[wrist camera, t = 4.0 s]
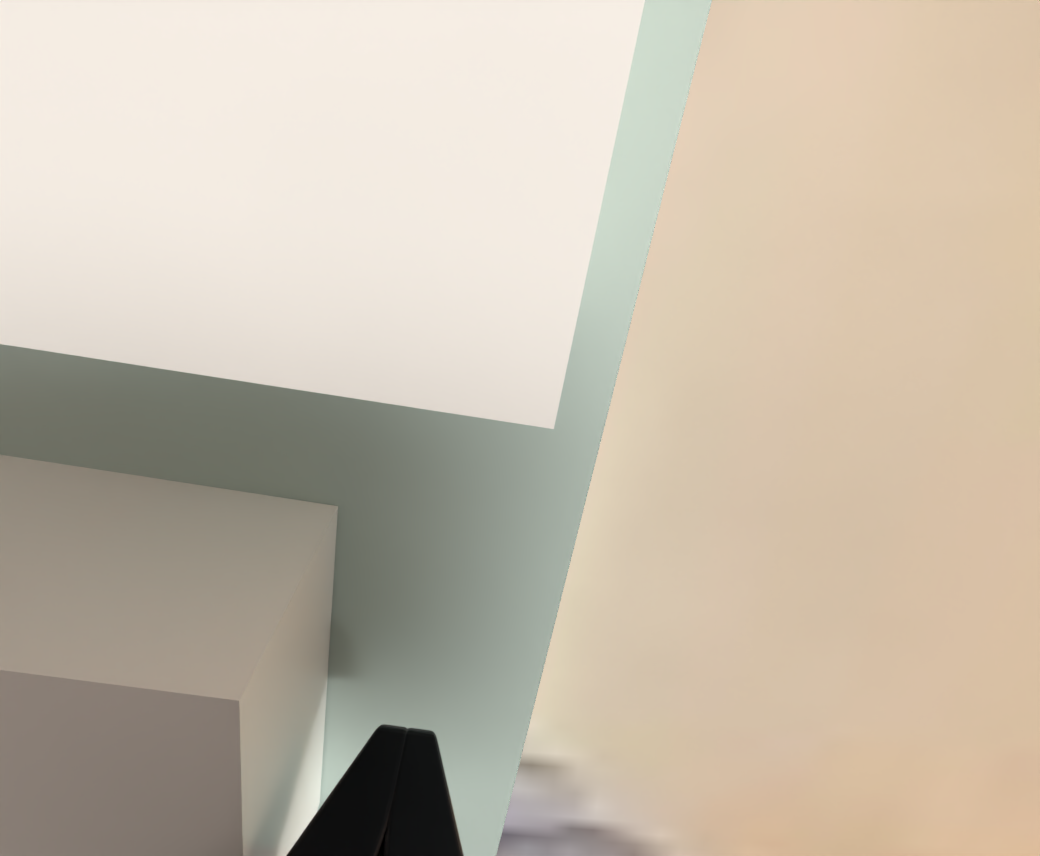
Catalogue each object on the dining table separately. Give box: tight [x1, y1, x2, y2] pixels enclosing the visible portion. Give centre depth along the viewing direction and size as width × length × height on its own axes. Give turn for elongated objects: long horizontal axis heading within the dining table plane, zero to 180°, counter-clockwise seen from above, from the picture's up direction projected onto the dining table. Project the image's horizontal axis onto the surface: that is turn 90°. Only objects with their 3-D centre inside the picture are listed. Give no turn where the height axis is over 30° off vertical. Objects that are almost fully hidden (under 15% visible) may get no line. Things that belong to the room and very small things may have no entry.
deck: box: [0, 0, 712, 856], centre depth 7 cm, size 19×12×2 cm, turn 170°
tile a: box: [0, 455, 338, 856], centre depth 8 cm, size 6×6×3 cm
